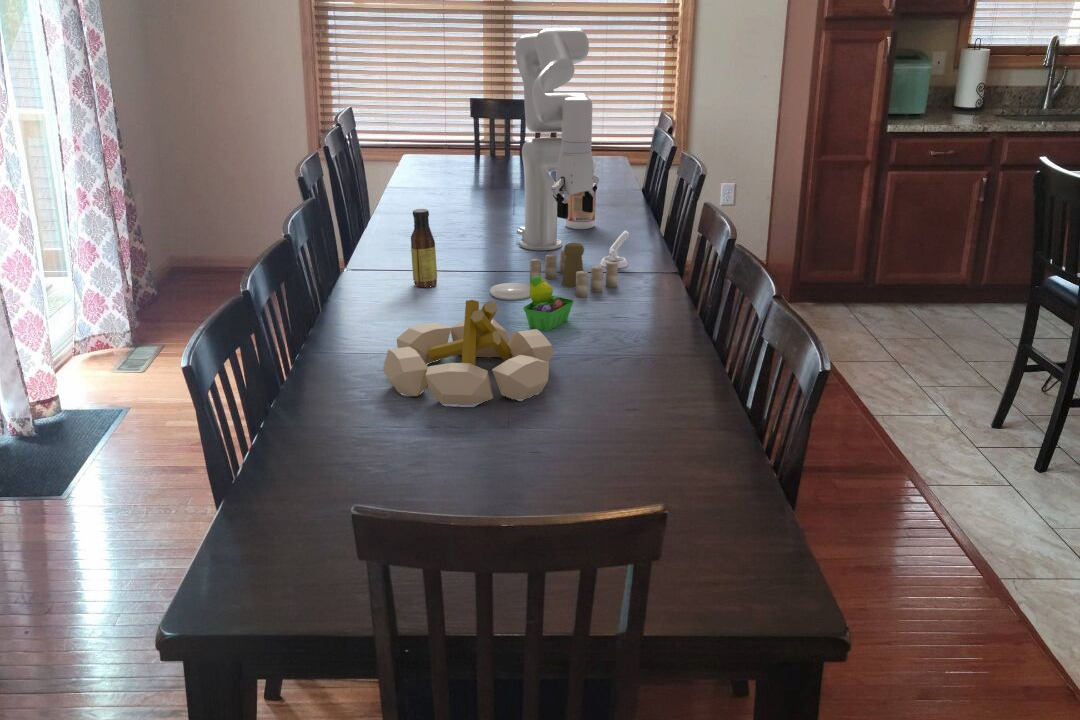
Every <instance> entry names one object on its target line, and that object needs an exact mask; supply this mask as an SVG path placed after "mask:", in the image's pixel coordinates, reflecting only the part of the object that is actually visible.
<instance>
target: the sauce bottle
mask: <svg viewBox="0 0 1080 720" xmlns="http://www.w3.org/2000/svg"><path fill="white" fill-rule="evenodd" d="M429 212H430V211H429V209H427V208H415V209H413V210H412V216H413V227H414V228H413V231H412V234H411V236H410V243H411V244H410V253H411V265H412V278H413V279H412V280H413V284H415V285H416V286H415V285H414V286H415V287H418V286H420V287H419V288H421V287H428V288H431V287H430V286H433V287H435V286H436V285H437V283H438V267H437V255H436V253H437V252H436V242H435V239H434V236H433V233H432V230H431V227H430V223H429V217H430V213H429ZM434 285H435V286H434Z"/></svg>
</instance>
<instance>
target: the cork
mask: <svg viewBox="0 0 1080 720" xmlns="http://www.w3.org/2000/svg"><path fill="white" fill-rule="evenodd" d="M563 250H564V253H565V255H566V260H565V266H564V273H563V274H562V280H561V285H562V286H564V287H567V288H576V272H578V271H584V265H583V255H584V252H585V247H584V245H583V244H582V243H580V242H568V243H566V244H565V245H564V248H563Z"/></svg>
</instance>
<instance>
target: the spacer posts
mask: <svg viewBox="0 0 1080 720" xmlns="http://www.w3.org/2000/svg"><path fill="white" fill-rule="evenodd" d="M559 252H560V260H559V261H560V262H559V266H560V267H559V273H560V274H561V275H563V273H564V266H565V260H566V255H565V253H564V249H563V250H560V251H559ZM544 260H545V262H544V264H545V265H544V269H545V274H544V275H545V276H544V277H545V279H547V280H555V279H557V265H558V263H557V261H558V260H557V255H556V254H546V255H545V259H544ZM617 262H618V261H610V262H607V263H606V267H605V287H607V288H616V287H617V286H618V271H619V270H618V269H619V268H618V263H617ZM590 272H591V273H590V275H591V276H590V291H591V292H592V293H601V292H603V289H604V288H603V287H604V286H603V284H604V283H603V282H604V267H603V266H597V265H596V266H595V265H594V266H591V271H590ZM534 276H539V277H541V278H542V259H540V258H539V259H538V258H532V259H530V260H529V281H530V280H531V279H532V278H533V277H534ZM588 282H589V272H588V271H584V270H583V271H578V272H576V287H575V297H577V298H586V297H588V289H589V287H588V285H589V283H588Z"/></svg>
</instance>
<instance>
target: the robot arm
mask: <svg viewBox="0 0 1080 720" xmlns="http://www.w3.org/2000/svg"><path fill="white" fill-rule="evenodd" d="M589 50H590V42H589V38H588V35H587V34H586V32H585V31H584V30H583V29H582V28H577V27H560V28H559V27H555V28H554V27H551V28H545V29H542V30H541V31H539V32H538V33H530V34H525V35H524V34H523V35H522V36H519V38H517V40H516V42H515V47H514V55H515V61H516V65H517V69H518V71H519V74H520V77H521V79H522V83H523V84H522V85H523V98H524V99H523V100H524V118H525V125H526V128H527V130H528V131H529V132H531V133H537V134H538V133H539V134H541V133H542V134H544V133H545V134H549V133H550V134H552V133H557V134H558V133H561V137H558V136H557V137H553V136H552V137H549V136H548V137H536V138H535V137H534V138H530V139H528V140H526V141H525V142H524V143H523V145H522V147H521V158H522V163H523V172H524V173H523V174H524V226H520V227H519V229H517V231H516V234H517V235H519V236H521V239H520V240H519V246H520V247H521V248H523V249H527V250H530V251H552V250H557V249H560V248H561V247H562V245H563V242H562V240H561V239H559V238H558V218H559V219H563V220H565V219H567V218H568V203H566V202H567V200H568V198H569V196H570V195H573V194H578V193H582V192H583V193H584V195H585V196H583V197H582V211H584V212H589V213H592V212H593V197H594V196H595V192H596V191H597V190H598V185H599V182H600V177H598V176H596V175H595V174H594V168H593V159H594V157H593V152H592V144H593V143H592V139H593V138H592V137H593V101H592V100H591V98H589V96H588V95H587V94H586V93H584V92H583V93H582V92H554V90H556V89H557V88H560V87H563V86H564V85H566V84H567V83H569V82H570V81H571V80H572V79H573V77H574V74H575V65H576V64H579V63H582V61H585V60H586V58H587V57H588V55H589ZM550 172H556V174H555V175H556V176H555V180H554V178H553V177H552V176H551V175H550Z"/></svg>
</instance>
